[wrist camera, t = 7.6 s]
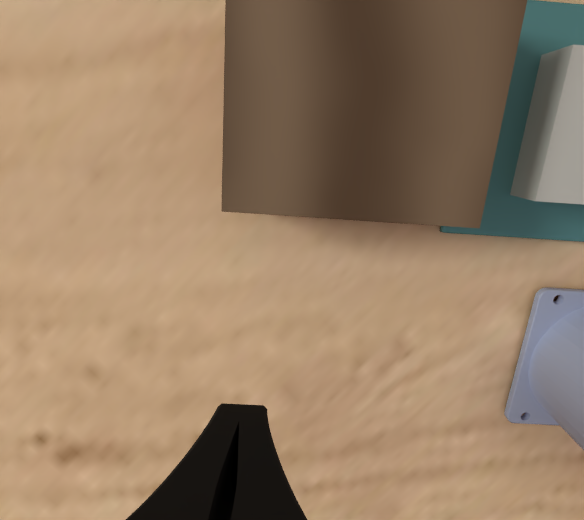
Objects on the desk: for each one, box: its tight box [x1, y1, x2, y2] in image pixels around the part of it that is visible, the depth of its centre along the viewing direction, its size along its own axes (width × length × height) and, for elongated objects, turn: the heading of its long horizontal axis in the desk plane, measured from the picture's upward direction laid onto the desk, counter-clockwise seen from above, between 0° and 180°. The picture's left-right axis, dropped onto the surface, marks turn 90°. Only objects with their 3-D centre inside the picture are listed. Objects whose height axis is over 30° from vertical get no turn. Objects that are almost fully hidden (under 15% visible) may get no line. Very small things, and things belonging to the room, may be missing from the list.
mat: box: [440, 0, 584, 242], centre depth 18 cm, size 7×10×1 cm
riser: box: [222, 0, 527, 228], centre depth 16 cm, size 10×8×4 cm
